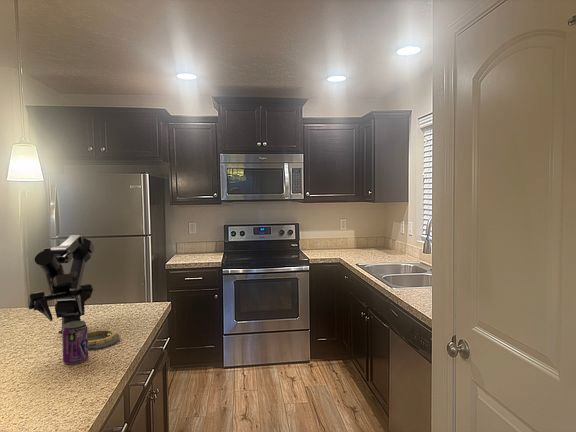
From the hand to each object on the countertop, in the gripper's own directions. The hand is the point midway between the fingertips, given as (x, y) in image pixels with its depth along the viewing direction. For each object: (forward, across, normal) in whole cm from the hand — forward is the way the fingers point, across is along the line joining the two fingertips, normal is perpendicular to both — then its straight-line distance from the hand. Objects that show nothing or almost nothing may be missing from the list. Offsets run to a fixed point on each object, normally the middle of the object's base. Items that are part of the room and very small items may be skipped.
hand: (67, 317), depth 127 cm
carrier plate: (+5, +10, +12) cm, 17 cm away
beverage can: (+14, 0, +4) cm, 15 cm away
